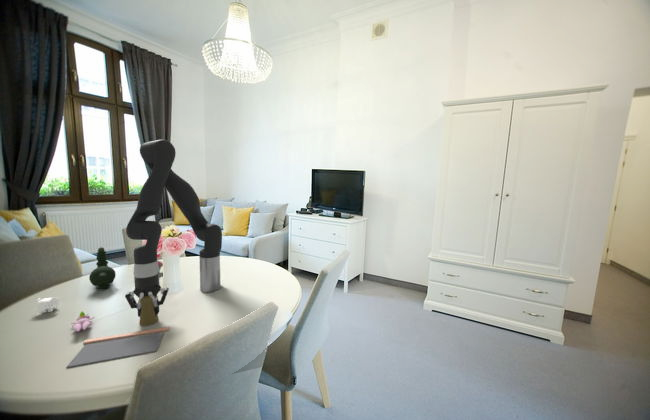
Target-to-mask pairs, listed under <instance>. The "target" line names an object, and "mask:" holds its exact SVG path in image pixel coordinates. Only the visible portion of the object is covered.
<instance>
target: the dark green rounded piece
mask: <svg viewBox="0 0 650 420" xmlns="http://www.w3.org/2000/svg"><path fill="white" fill-rule="evenodd" d="M106 254H107V252H106V250H105V248H104V247H99V248H98V249H97V252H96V255H97V257H95V259H96V260H97V261H96V263H95V265H96V268H94V269H93V270H92V271H91V273H90V274H89V278H88V279H89V282H90V284H91V285H93V286H94V287H97V288H96V289H97V290H98V291H106V290H108V289H109V288H110V284H113V282H114V280H115V279H116V271H115V270H114V268H113V267H110V266H109V261H108V260H107V259H108V256H107V255H106Z"/></svg>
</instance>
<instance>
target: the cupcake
mask: <svg viewBox="0 0 650 420" xmlns="http://www.w3.org/2000/svg"><path fill="white" fill-rule="evenodd" d="M157 261H158V267H159V273H160V271H161V269H162V267H164V265H163V262H162V261H160V260H157Z"/></svg>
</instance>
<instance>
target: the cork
mask: <svg viewBox="0 0 650 420" xmlns="http://www.w3.org/2000/svg"><path fill="white" fill-rule="evenodd" d="M155 298H156V296H155ZM152 301H153V299H152V298H151V297H150V296H144V297H143V298H142V299H141V300H140V303H141V304H142V305H141V315H140V317H139V324H138V325H140V326H141V327H142V326H143V327H148V326H150V325H154V324H156V323H157V322H158V321H159V313H158V314H157V316H155V312H154V305H153V302H152Z"/></svg>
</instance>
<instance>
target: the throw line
mask: <svg viewBox="0 0 650 420" xmlns="http://www.w3.org/2000/svg"><path fill="white" fill-rule="evenodd" d="M169 330H170V326H167V327H165V326H163V327H159V328H153V329H146V330H140V331H133V332H128V333H120V334H115V335H114V334H113V335H107V336H106V335H105V336H100V337H94V338H88V339H85V340H84V341H83V343H82V344H83V345H87V344H93V343H100V342H106V341H112V340H118V339H124V338H131V337H137V336H143V335H149V334H155V333H162V332H168V331H169Z"/></svg>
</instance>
